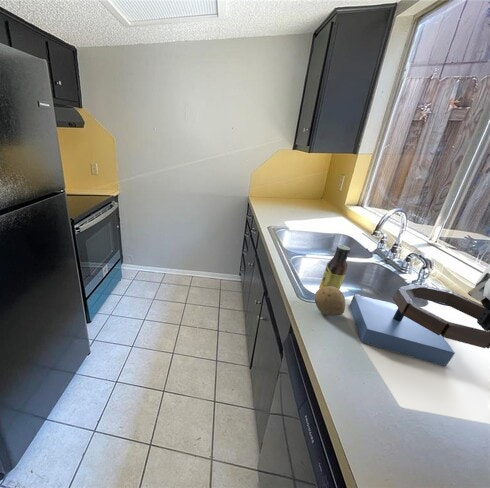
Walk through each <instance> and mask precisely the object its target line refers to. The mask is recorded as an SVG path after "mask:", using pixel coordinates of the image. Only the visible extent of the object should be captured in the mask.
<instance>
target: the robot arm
mask: <svg viewBox="0 0 490 488" xmlns="http://www.w3.org/2000/svg"><path fill="white" fill-rule="evenodd" d="M467 295H468V296H469V297H470V298H472V299H474V300H476V302H477V301H478V303H480V304H481V305H483V306H484V307H485V308H484V310H483V311H482V313H481V314H480V316H479V317H478V319H476V323H477V324H478V325H479V326H480V327H481V328H482V330H484V331H490V264H488V266H487V267H486V268H485V269H484V271H483V272H482V273H481V275H480V276H479V278H478V280H477V281H476V283H475V286H474V287H473V288H472V289H470V290H468V291H467Z"/></svg>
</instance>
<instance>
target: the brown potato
mask: <svg viewBox="0 0 490 488" xmlns="http://www.w3.org/2000/svg"><path fill="white" fill-rule="evenodd" d="M313 299H314V300H313V301H314V303H315V305H316V307H317V310H318V311H319V312H320V313H321V314H323V315H325V316H341V315H343V314H344V313H345V310H346V298H345V295H344V293H343V291H341V289H340V290H339V289H337V288H335V287H331V286H328V287H323V288H321V289H319V288H318V289H317V290H316V292H315V293H314V295H313Z"/></svg>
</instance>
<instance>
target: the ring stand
mask: <svg viewBox="0 0 490 488" xmlns="http://www.w3.org/2000/svg"><path fill="white" fill-rule="evenodd" d="M349 310H350V312H351V316H352V318H353V322H354V324H355V327H356V330H357V334H358V336H359V339H360V342H361V343H363V344H367V345H369V346H374V347H377V348H380V349H383V350H387V351H390V352H394V353H397V354H401V355H404V356H407V357H411V358H413V359H414V358H415V359H418V360H422V361H425V362H428V363H432V364H434V365H438V366H442V367H447V366H448V365H449V363H450V361H451V360H452V358H453V357H454V356H455V354H456V352H455V351H454V349H453V348H452V347H451V345H450V344H449V342H448V341H447V340H446V338H444V337H442V336H441V335H437V334H435V333H433V332H432V331H430V330H428V329H426V328H425V327H423V326H421V325H419V324H417V323H416V322H414V321H412V320H410V319H409V318H407V317H405V316H404V314H401V312H400V310H399V309H398V307H397V305H396V304H395V303H392V302H388V301H384V300H381V299H380V300H379V299H375V298H371V297H368V296H362V295H358V294H353V296H352V298H351V301H350V303H349Z"/></svg>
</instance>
